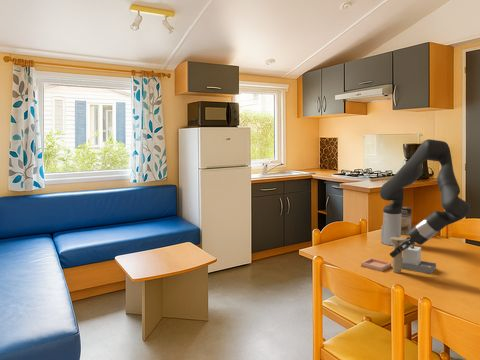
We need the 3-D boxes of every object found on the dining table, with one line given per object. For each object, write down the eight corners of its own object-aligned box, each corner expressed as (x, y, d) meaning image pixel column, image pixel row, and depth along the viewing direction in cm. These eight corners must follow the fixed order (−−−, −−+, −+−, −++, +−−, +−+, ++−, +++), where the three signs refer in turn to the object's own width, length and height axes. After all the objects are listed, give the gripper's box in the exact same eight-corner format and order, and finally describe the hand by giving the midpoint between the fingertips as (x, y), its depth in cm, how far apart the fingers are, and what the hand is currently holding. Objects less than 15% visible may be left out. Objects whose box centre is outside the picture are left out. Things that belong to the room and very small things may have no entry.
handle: (388, 269, 173) (389, 236, 171) (404, 270, 171) (405, 237, 169) (389, 273, 168) (390, 239, 166) (405, 274, 166) (406, 240, 165)
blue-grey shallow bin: (396, 267, 175) (396, 261, 175) (401, 262, 182) (402, 257, 181) (431, 273, 166) (431, 268, 166) (435, 268, 173) (435, 263, 172)
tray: (361, 266, 178) (361, 262, 177) (370, 261, 184) (370, 257, 184) (381, 271, 170) (381, 267, 170) (391, 266, 176) (391, 262, 176)
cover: (402, 263, 174) (403, 246, 173) (406, 259, 179) (407, 243, 178) (416, 266, 171) (417, 249, 170) (420, 262, 176) (421, 245, 175)
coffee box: (394, 234, 233) (394, 207, 231) (394, 231, 239) (395, 205, 237) (410, 235, 229) (411, 208, 227) (410, 232, 235) (411, 206, 233)
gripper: (421, 221, 168) (391, 244, 177) (412, 227, 157) (381, 251, 166) (434, 234, 165) (403, 257, 174) (425, 242, 154) (393, 266, 163)
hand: (392, 254), depth 170 cm, fingers closed on handle, 3 cm apart
